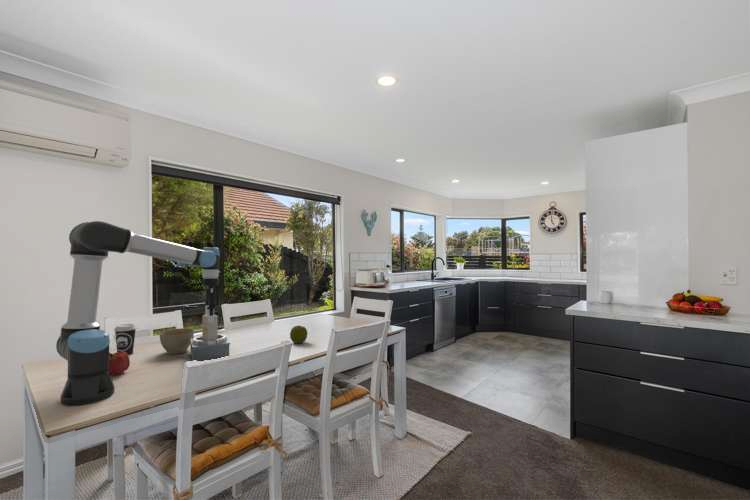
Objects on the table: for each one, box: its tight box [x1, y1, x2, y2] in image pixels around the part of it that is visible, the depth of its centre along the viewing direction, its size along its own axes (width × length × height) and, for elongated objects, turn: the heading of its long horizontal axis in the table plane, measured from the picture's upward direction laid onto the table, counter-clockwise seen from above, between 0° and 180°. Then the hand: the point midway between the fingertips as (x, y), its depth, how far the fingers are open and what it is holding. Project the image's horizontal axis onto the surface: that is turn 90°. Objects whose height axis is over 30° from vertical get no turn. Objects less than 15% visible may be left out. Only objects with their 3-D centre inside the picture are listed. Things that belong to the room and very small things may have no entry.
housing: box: [189, 333, 231, 361], centre depth 176 cm, size 21×17×10 cm
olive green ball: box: [289, 325, 309, 344], centre depth 204 cm, size 10×10×11 cm
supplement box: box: [201, 314, 219, 340], centre depth 175 cm, size 8×5×13 cm, turn 46°
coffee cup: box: [113, 323, 137, 356], centre depth 179 cm, size 10×10×15 cm
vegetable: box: [109, 351, 131, 376], centre depth 150 cm, size 11×10×10 cm
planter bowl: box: [158, 327, 195, 355], centre depth 184 cm, size 16×16×11 cm
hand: (209, 320), depth 175 cm, fingers open, 13 cm apart
